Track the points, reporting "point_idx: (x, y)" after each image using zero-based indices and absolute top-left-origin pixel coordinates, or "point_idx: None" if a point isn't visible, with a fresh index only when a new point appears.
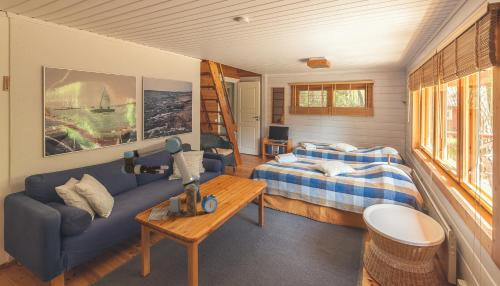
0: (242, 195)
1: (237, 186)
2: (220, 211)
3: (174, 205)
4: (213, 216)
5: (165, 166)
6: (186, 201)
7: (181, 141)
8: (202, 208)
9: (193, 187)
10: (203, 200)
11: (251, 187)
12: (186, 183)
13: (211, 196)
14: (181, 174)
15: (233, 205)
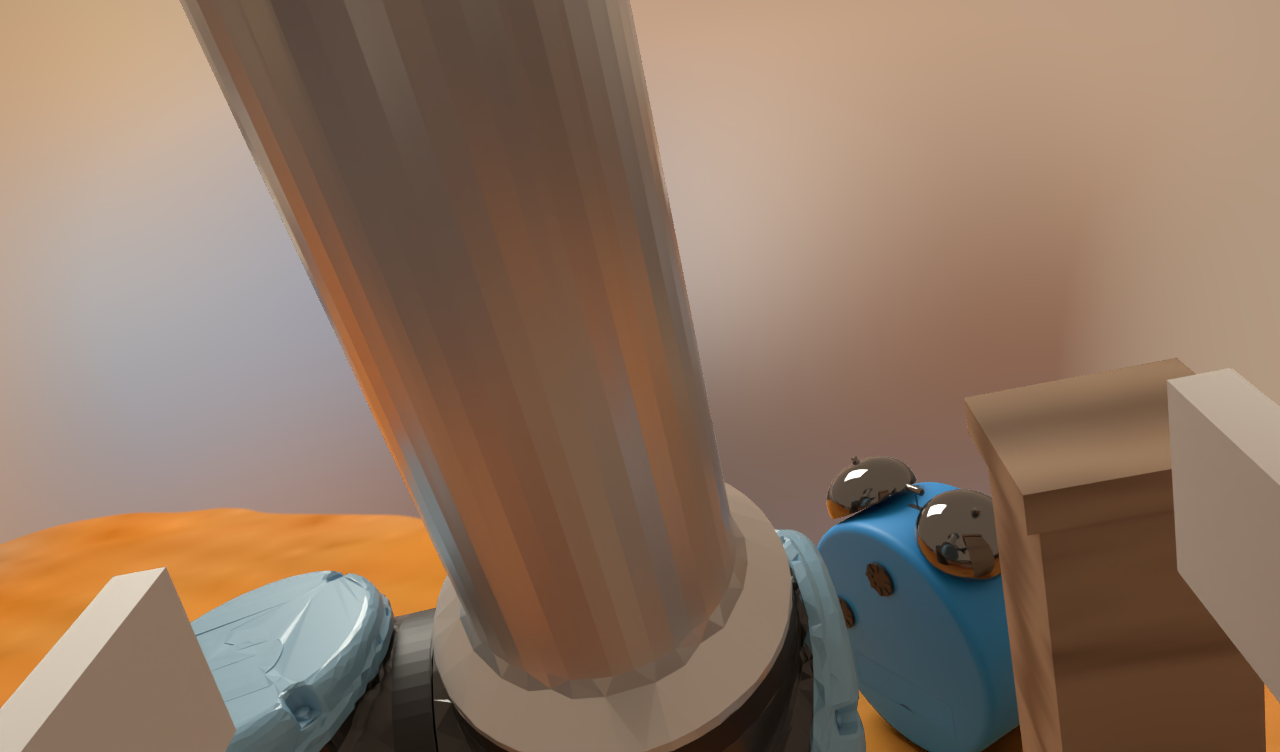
0: (383, 571)
1: (26, 672)
2: None
3: None
4: None
5: (94, 694)
6: (1261, 716)
7: None
8: (1010, 724)
9: (1101, 394)
10: (986, 592)
11: (149, 561)
12: (791, 592)
13: (914, 480)
14: (679, 455)
15: None
